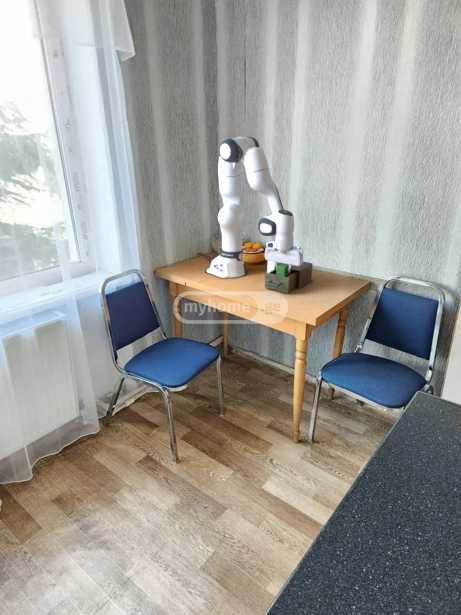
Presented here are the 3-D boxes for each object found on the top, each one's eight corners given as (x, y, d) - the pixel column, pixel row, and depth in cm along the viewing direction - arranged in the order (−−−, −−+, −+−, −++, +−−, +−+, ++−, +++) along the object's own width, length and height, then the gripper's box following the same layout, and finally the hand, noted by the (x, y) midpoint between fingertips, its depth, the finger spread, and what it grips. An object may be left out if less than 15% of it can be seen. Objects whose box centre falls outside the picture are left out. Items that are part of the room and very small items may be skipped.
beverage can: (281, 278, 217) (282, 257, 212) (266, 277, 218) (267, 256, 213) (282, 273, 224) (283, 252, 219) (268, 272, 225) (268, 251, 220)
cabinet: (298, 288, 202) (299, 270, 198) (273, 282, 210) (274, 265, 206) (311, 280, 213) (312, 263, 209) (287, 275, 221) (288, 258, 217)
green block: (284, 277, 197) (284, 267, 194) (276, 275, 199) (276, 265, 197) (289, 273, 201) (290, 264, 199) (282, 271, 203) (282, 262, 201)
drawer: (283, 296, 191) (283, 281, 188) (259, 290, 198) (259, 275, 195) (300, 284, 205) (301, 270, 201) (277, 279, 212) (278, 265, 209)
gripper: (306, 246, 190) (304, 273, 196) (269, 240, 201) (269, 266, 207) (300, 249, 186) (298, 276, 191) (263, 243, 197) (262, 269, 202)
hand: (283, 271), depth 199 cm, fingers closed on green block, 4 cm apart
